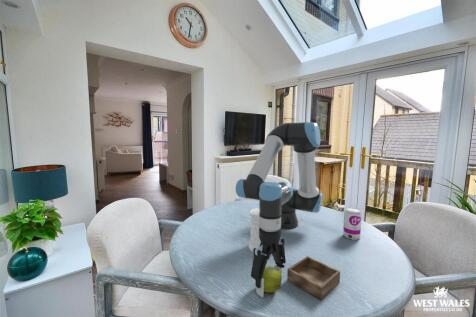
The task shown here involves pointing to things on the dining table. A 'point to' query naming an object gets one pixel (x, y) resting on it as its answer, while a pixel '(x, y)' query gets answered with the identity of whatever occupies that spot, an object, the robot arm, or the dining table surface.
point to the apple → (271, 279)
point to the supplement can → (352, 223)
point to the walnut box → (313, 277)
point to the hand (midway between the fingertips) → (268, 288)
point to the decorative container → (254, 229)
